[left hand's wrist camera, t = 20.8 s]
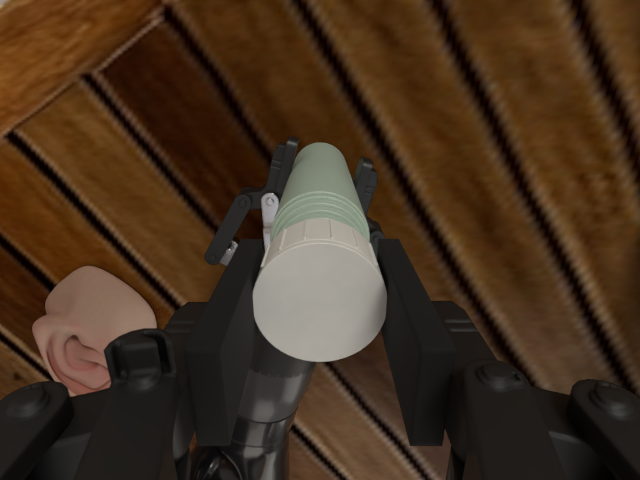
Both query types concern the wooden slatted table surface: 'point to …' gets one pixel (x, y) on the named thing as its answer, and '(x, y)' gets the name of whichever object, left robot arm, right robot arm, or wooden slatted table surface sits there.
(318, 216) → the bottle
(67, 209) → the wooden slatted table surface
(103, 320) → the anatomical model
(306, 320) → the cap
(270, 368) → the right robot arm
